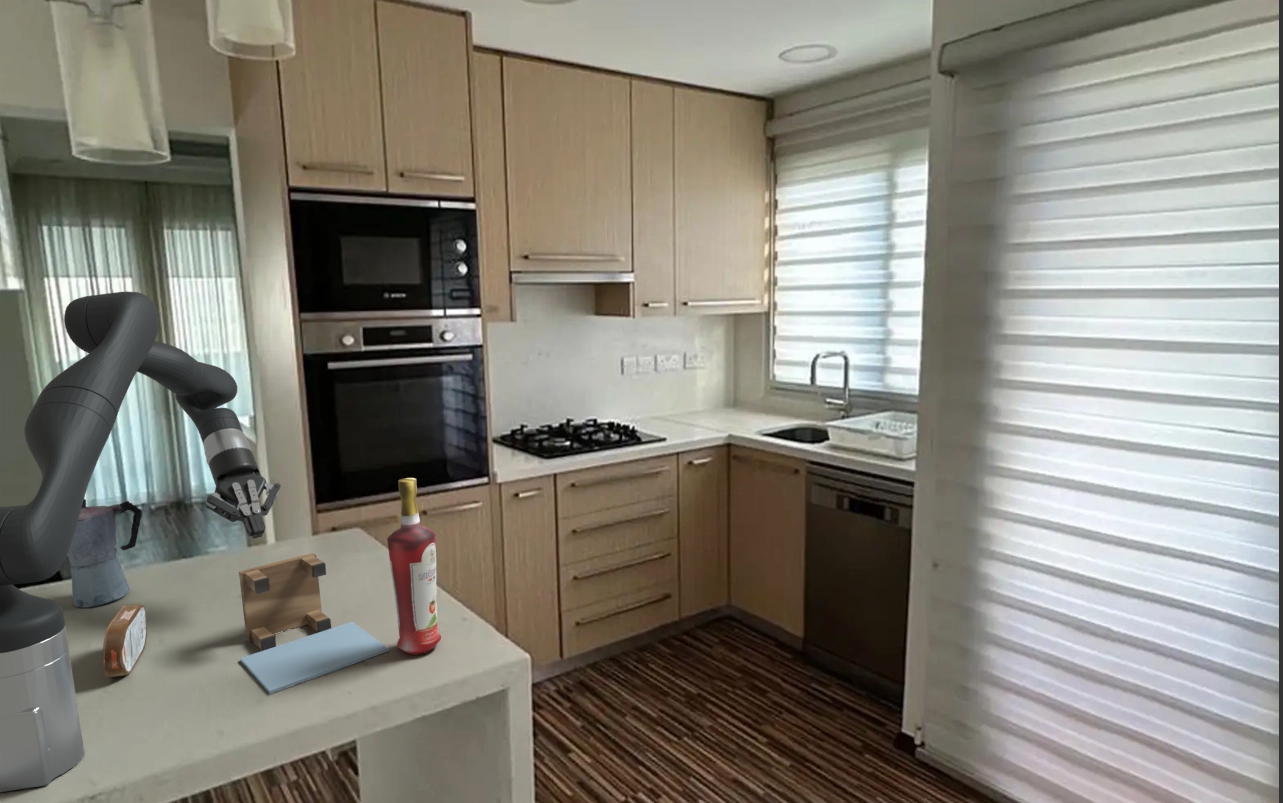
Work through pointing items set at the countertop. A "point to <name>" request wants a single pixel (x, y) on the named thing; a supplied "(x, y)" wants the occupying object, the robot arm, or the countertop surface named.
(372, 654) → the mat
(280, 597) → the wooden board with legs
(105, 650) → the tin
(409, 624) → the liquor
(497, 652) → the countertop surface
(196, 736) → the countertop surface
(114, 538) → the moka pot
